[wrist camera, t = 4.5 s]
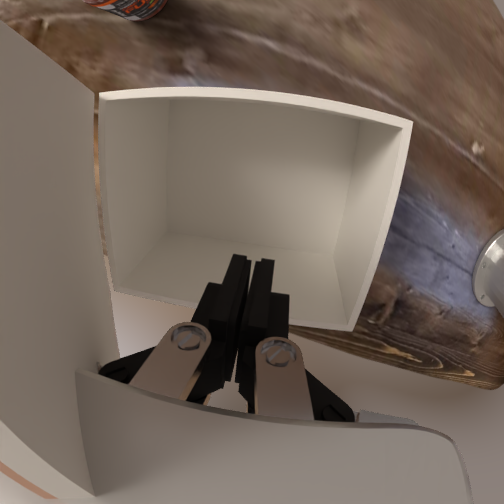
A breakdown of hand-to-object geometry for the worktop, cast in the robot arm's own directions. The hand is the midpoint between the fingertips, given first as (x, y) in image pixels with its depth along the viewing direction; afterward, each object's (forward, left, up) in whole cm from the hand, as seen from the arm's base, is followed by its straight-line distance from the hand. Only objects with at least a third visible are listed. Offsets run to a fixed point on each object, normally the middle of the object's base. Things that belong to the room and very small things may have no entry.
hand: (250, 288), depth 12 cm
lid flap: (+7, 0, +1) cm, 7 cm away
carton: (+2, 0, -19) cm, 19 cm away
